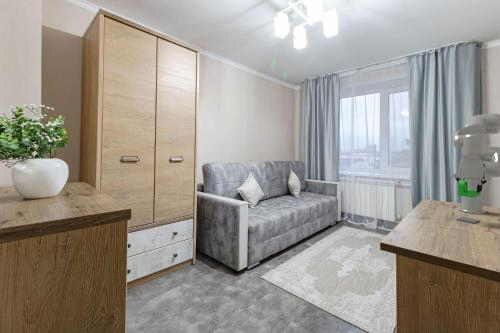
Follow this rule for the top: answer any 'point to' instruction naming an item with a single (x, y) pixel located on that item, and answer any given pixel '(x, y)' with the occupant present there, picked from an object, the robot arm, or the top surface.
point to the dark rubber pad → (468, 220)
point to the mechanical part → (466, 190)
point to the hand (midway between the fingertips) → (470, 190)
